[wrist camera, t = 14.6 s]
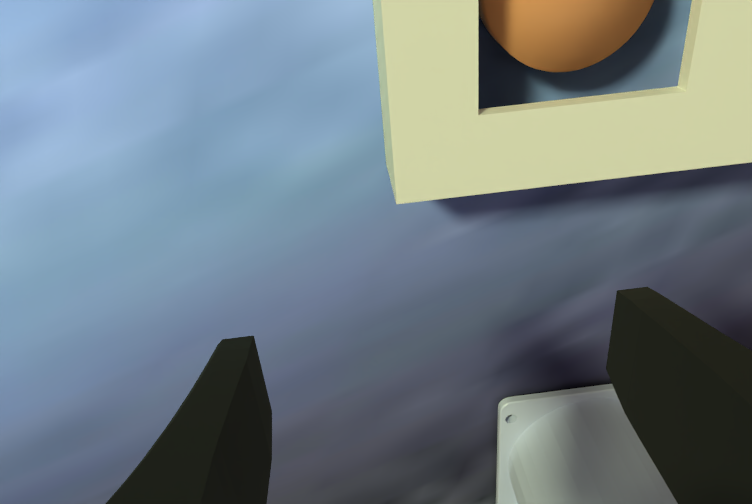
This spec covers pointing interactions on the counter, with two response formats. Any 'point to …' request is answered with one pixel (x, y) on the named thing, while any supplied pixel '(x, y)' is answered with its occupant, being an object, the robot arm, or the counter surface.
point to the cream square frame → (552, 109)
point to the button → (562, 29)
